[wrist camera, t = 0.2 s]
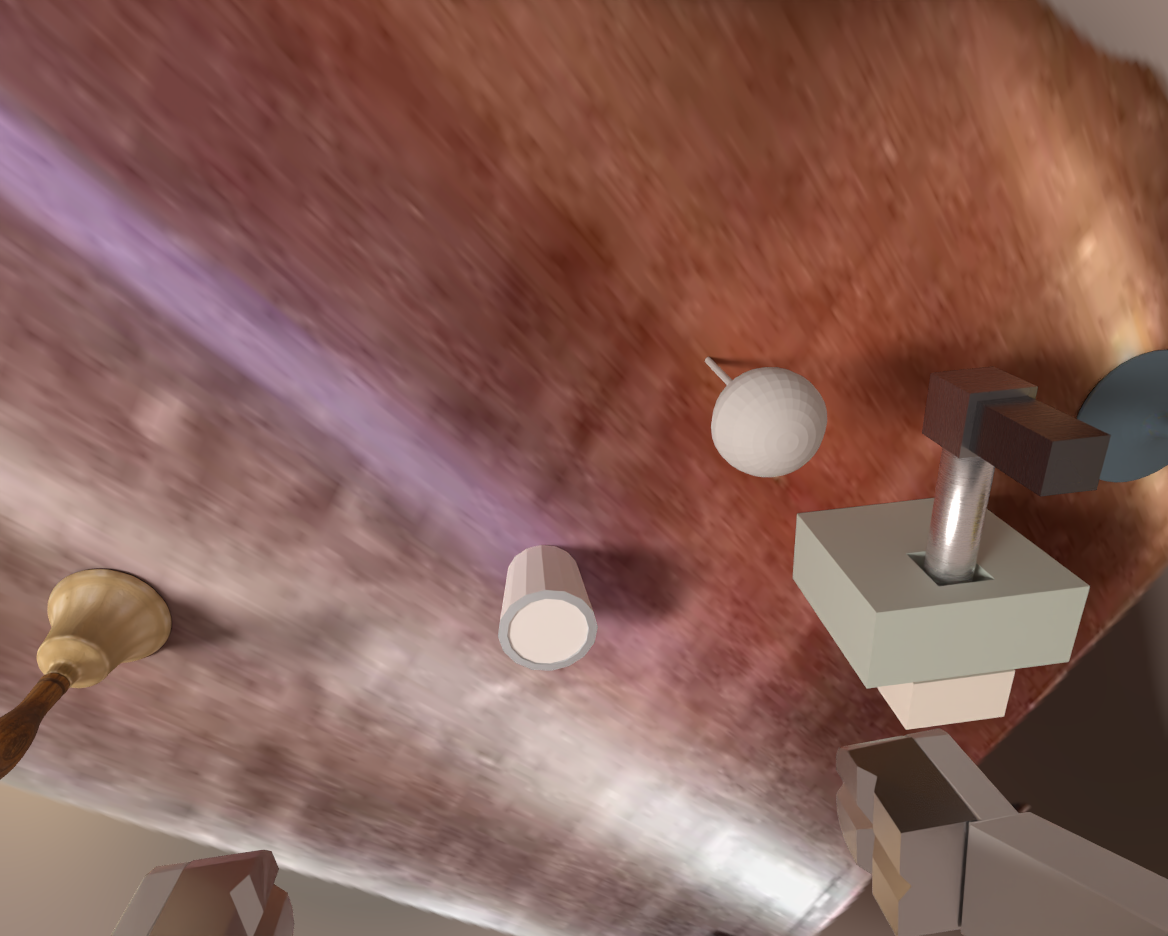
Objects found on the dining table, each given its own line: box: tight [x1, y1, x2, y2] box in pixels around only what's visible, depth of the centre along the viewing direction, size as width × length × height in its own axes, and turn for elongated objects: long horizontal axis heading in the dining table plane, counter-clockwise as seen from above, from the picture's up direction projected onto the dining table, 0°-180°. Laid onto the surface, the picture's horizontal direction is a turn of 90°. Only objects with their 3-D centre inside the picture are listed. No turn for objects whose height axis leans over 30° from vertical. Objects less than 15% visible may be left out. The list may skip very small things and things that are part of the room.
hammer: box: [922, 366, 1111, 586], centre depth 44 cm, size 25×4×10 cm, turn 4°
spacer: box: [878, 669, 1015, 730], centre depth 49 cm, size 4×7×4 cm, turn 94°
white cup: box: [498, 545, 598, 671], centre depth 51 cm, size 7×7×7 cm
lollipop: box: [705, 357, 827, 477], centre depth 42 cm, size 6×6×15 cm
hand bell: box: [0, 569, 171, 779], centre depth 45 cm, size 8×8×16 cm
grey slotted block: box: [793, 498, 1090, 688], centre depth 50 cm, size 6×14×13 cm, turn 94°
